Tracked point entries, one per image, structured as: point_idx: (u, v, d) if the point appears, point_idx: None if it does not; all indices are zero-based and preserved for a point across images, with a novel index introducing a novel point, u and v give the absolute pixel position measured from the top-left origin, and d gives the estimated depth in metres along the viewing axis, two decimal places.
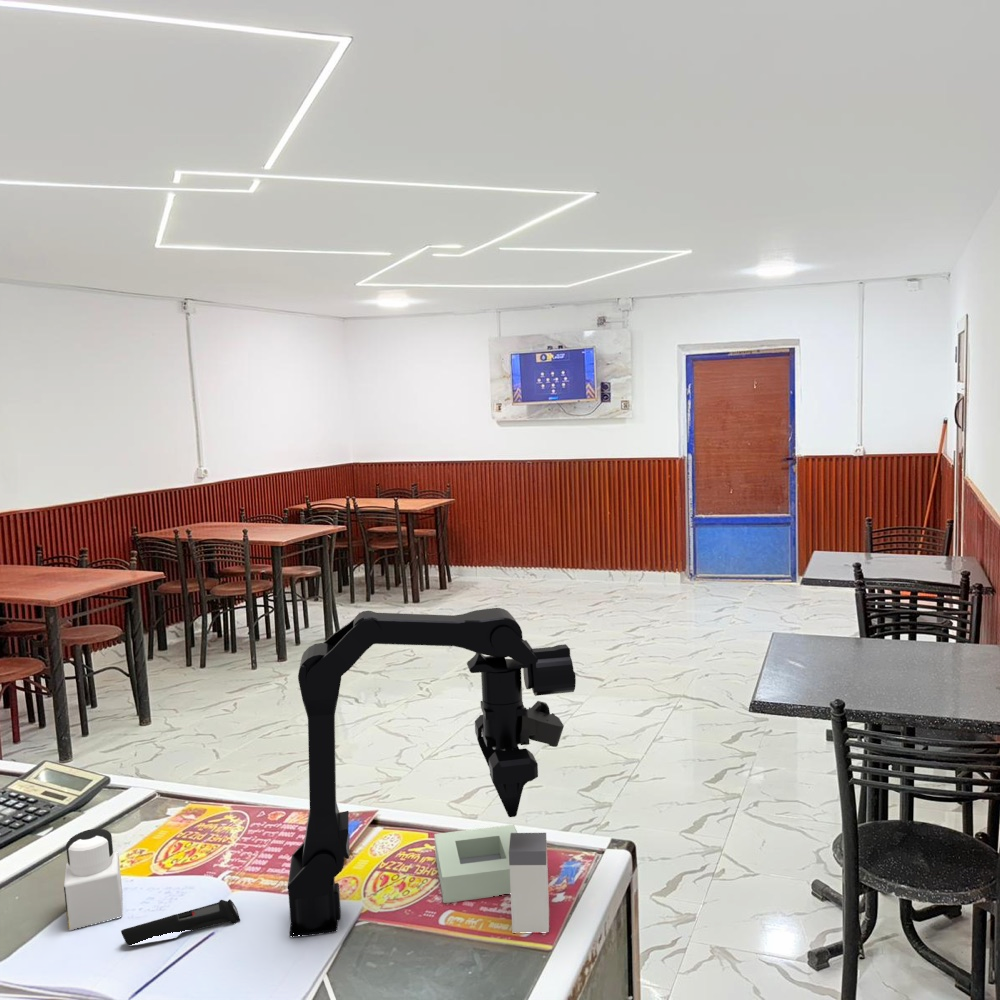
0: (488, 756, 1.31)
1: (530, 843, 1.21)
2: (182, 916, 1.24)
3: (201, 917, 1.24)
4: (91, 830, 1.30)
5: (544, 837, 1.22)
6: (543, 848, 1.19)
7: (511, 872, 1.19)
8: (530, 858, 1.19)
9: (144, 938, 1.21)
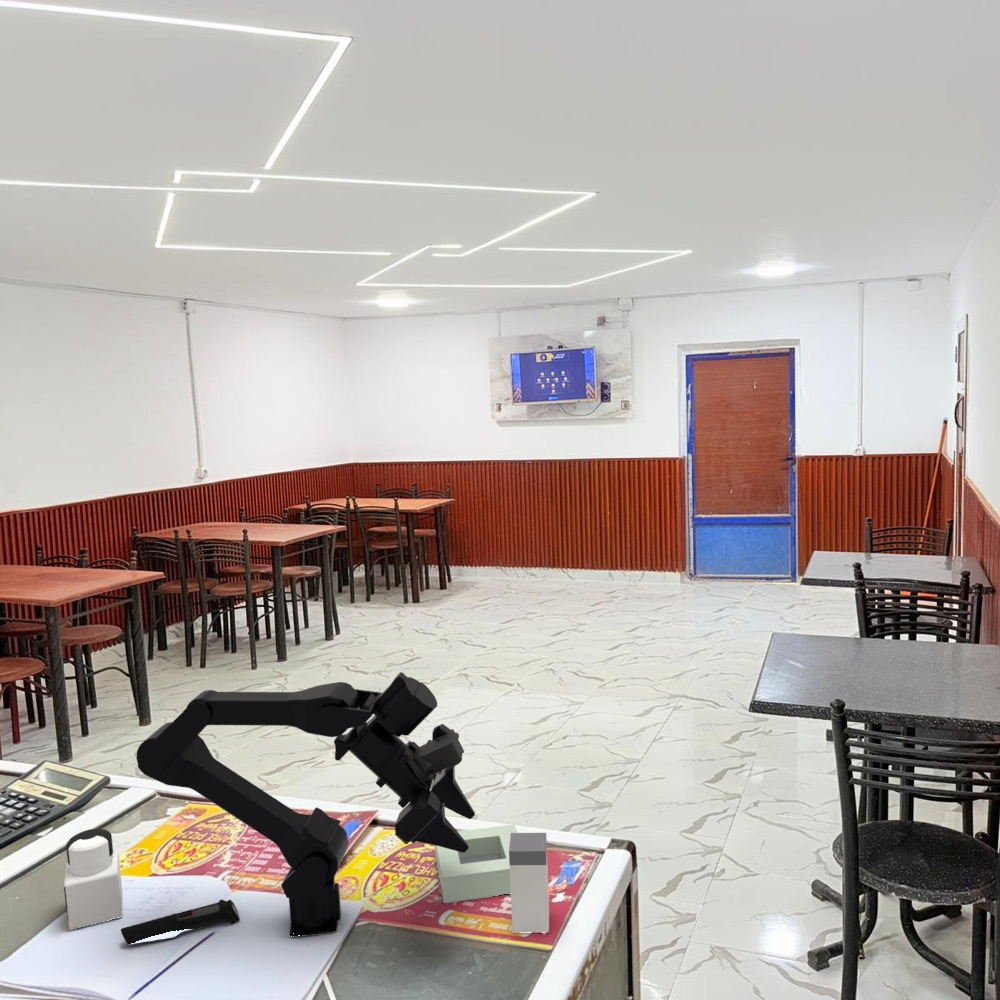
0: (439, 800, 1.27)
1: (531, 843, 1.21)
2: (182, 915, 1.24)
3: (200, 917, 1.24)
4: (91, 830, 1.30)
5: (544, 837, 1.22)
6: (543, 848, 1.19)
7: (511, 872, 1.19)
8: (530, 858, 1.19)
9: (143, 937, 1.21)
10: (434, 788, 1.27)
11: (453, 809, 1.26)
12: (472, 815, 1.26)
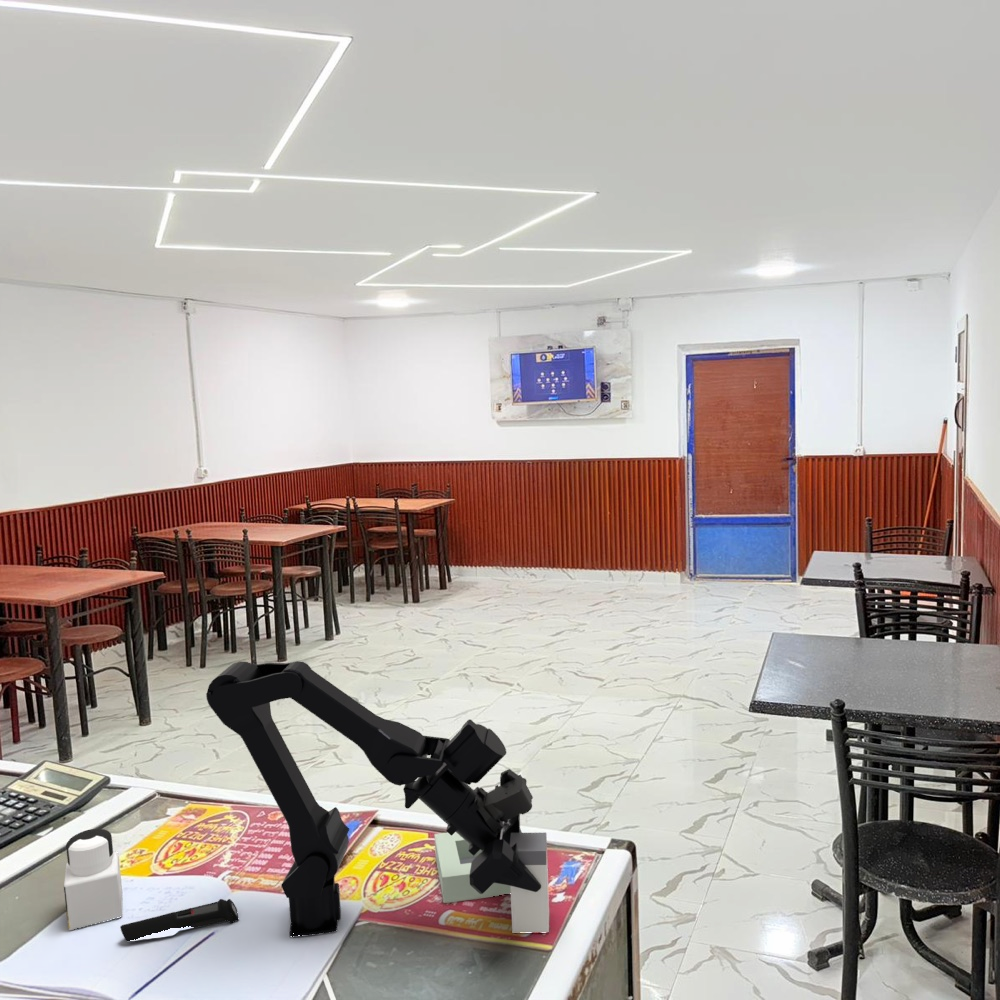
0: None
1: (531, 842, 1.21)
2: (181, 914, 1.24)
3: (199, 916, 1.24)
4: (91, 830, 1.30)
5: (544, 837, 1.22)
6: (543, 848, 1.19)
7: None
8: (530, 858, 1.19)
9: (142, 934, 1.22)
10: None
11: None
12: None
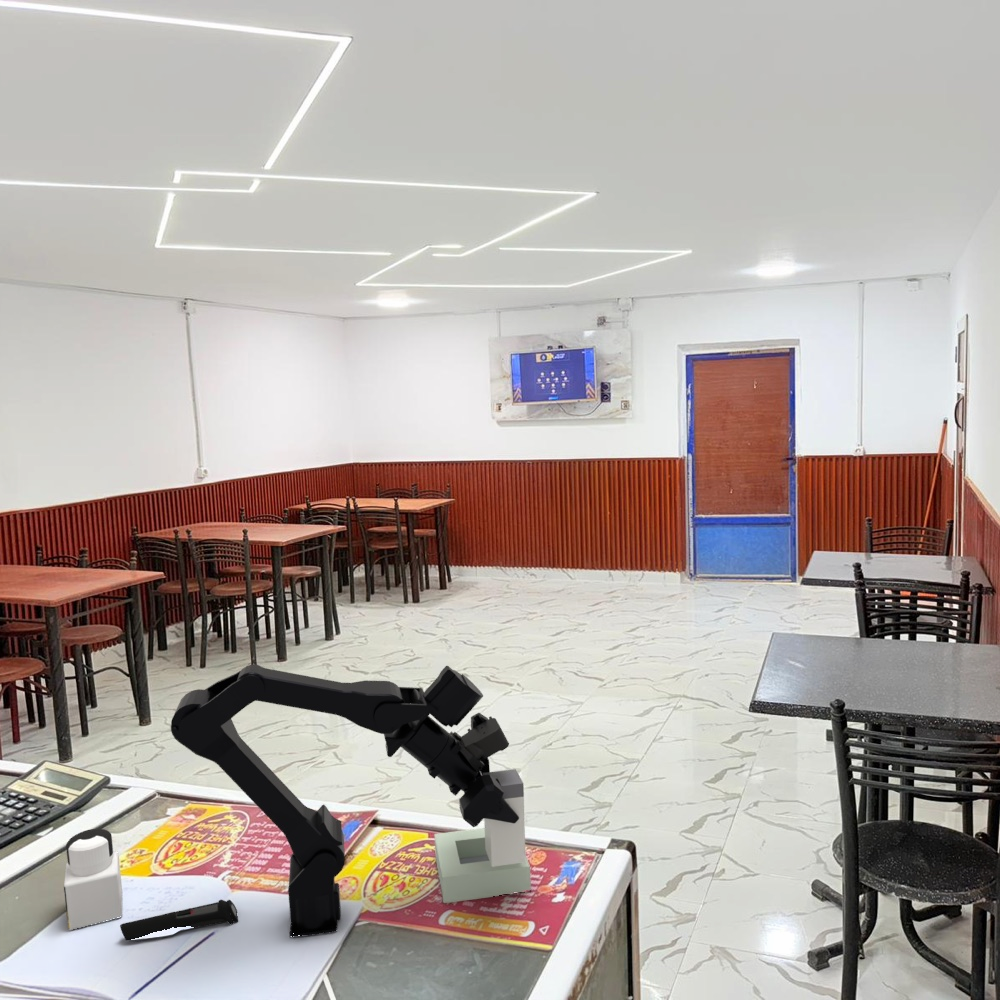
0: None
1: (506, 778, 1.28)
2: (181, 914, 1.24)
3: (199, 916, 1.24)
4: (91, 830, 1.30)
5: (516, 773, 1.30)
6: (520, 781, 1.27)
7: None
8: (509, 792, 1.26)
9: (142, 934, 1.22)
10: None
11: None
12: None
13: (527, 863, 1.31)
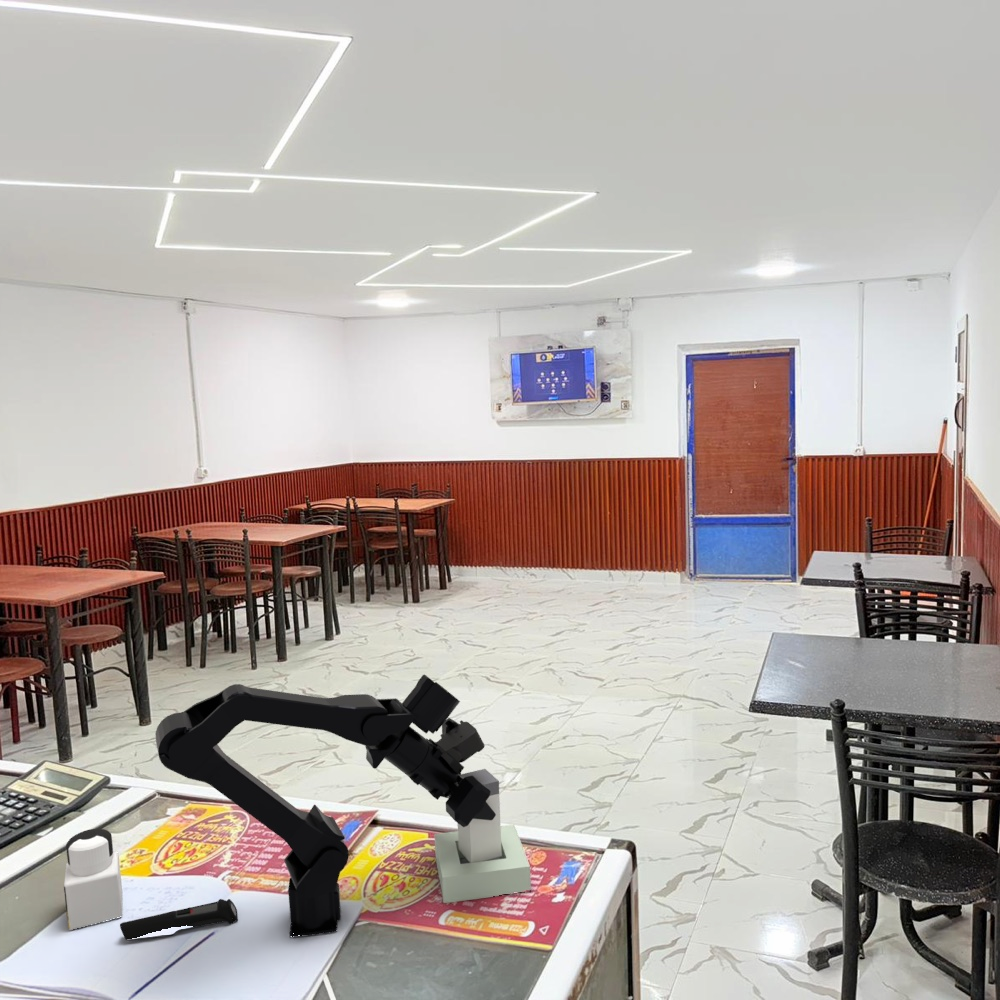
0: None
1: (480, 778, 1.34)
2: (180, 913, 1.24)
3: (198, 915, 1.24)
4: (91, 830, 1.30)
5: (487, 772, 1.36)
6: (495, 779, 1.33)
7: None
8: None
9: (141, 933, 1.22)
10: None
11: None
12: None
13: (527, 863, 1.31)
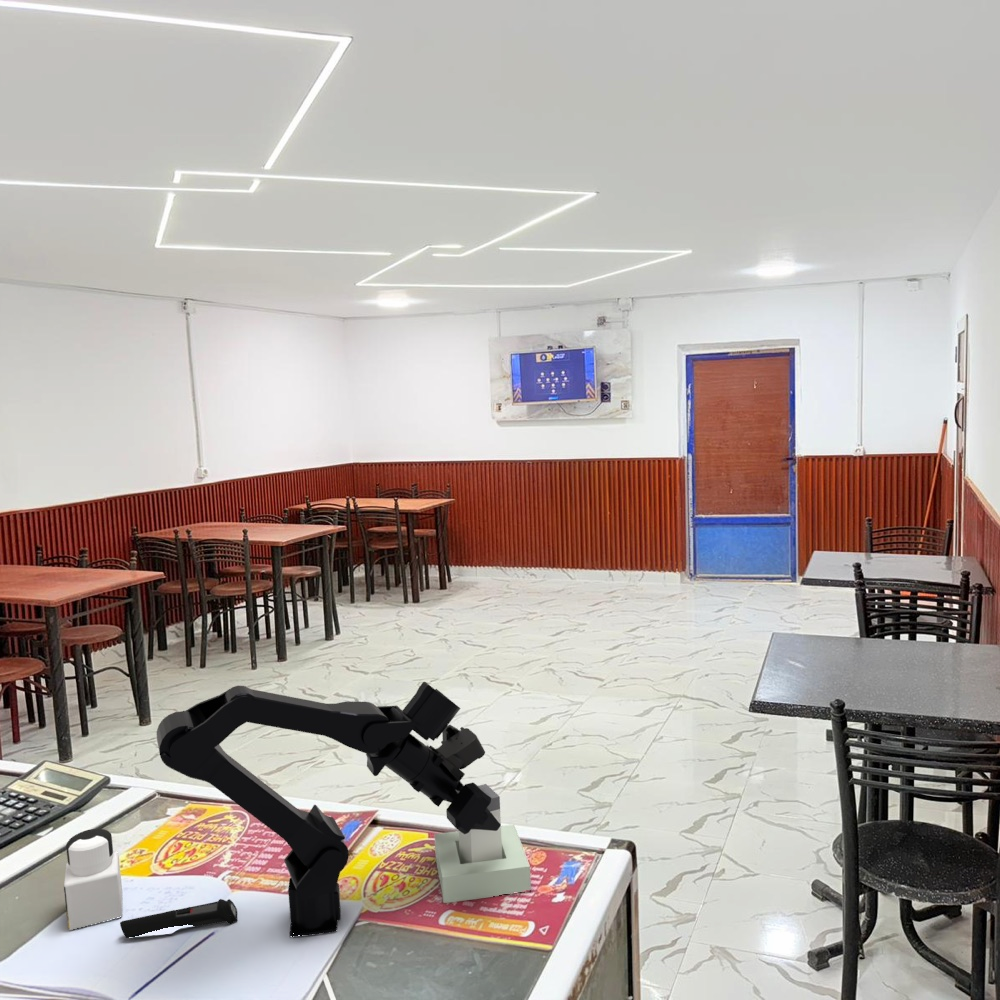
0: None
1: None
2: (180, 912, 1.24)
3: (198, 915, 1.24)
4: (91, 830, 1.30)
5: (488, 787, 1.36)
6: (495, 795, 1.33)
7: None
8: None
9: (141, 931, 1.22)
10: None
11: None
12: None
13: (527, 863, 1.31)
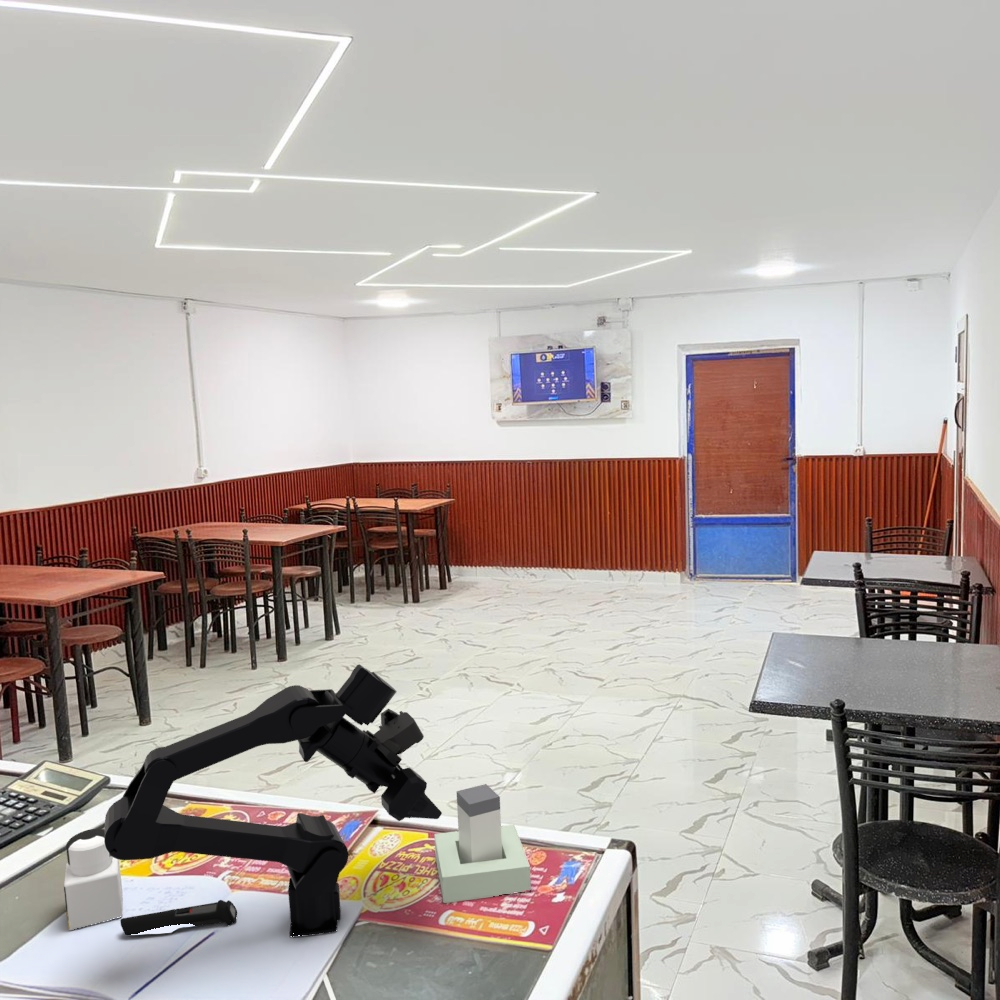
0: (386, 783, 1.33)
1: (481, 794, 1.34)
2: (180, 912, 1.25)
3: (196, 915, 1.24)
4: (91, 830, 1.30)
5: (488, 787, 1.36)
6: (495, 795, 1.33)
7: (471, 823, 1.31)
8: (487, 806, 1.32)
9: (140, 929, 1.23)
10: None
11: None
12: None
13: (527, 863, 1.31)
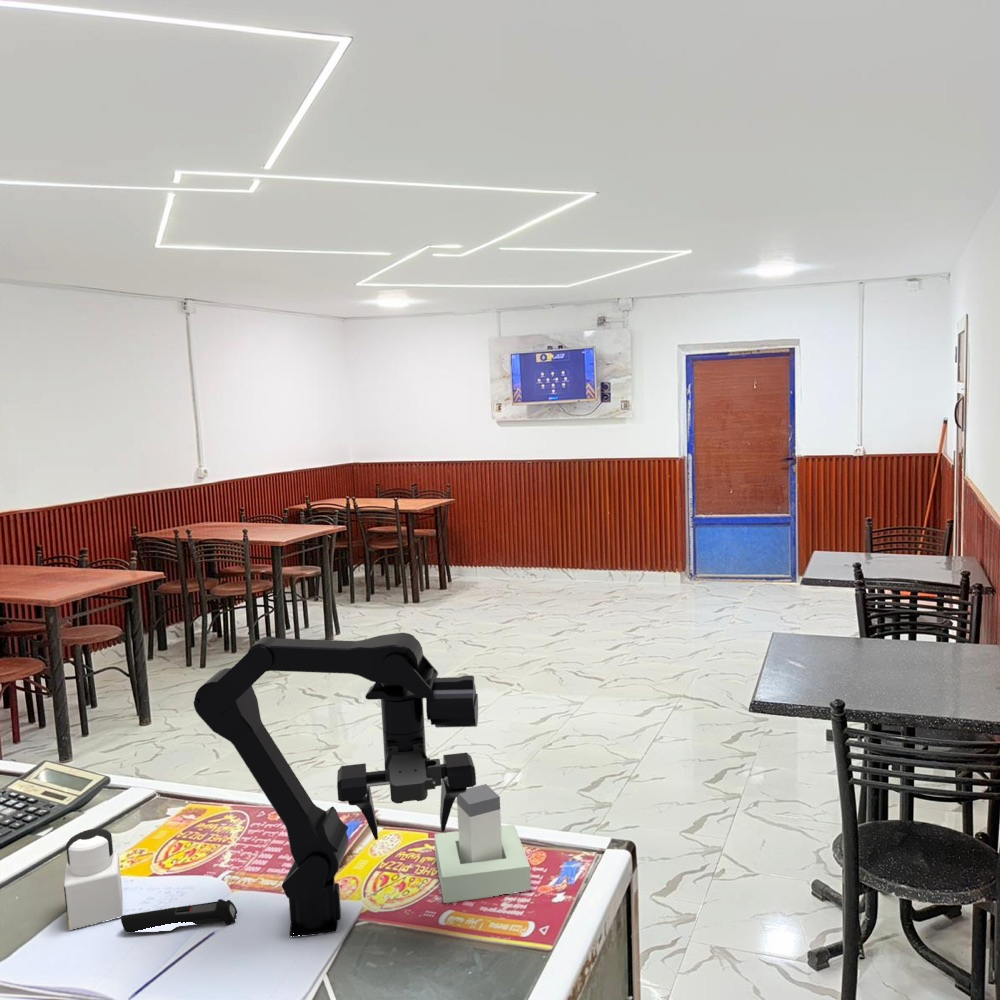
0: (441, 790, 1.24)
1: (481, 794, 1.34)
2: (179, 910, 1.25)
3: (196, 914, 1.25)
4: (91, 830, 1.30)
5: (488, 787, 1.36)
6: (495, 795, 1.33)
7: (471, 823, 1.31)
8: (487, 806, 1.32)
9: (140, 927, 1.23)
10: (443, 781, 1.24)
11: (440, 808, 1.24)
12: (441, 829, 1.23)
13: (527, 863, 1.31)
